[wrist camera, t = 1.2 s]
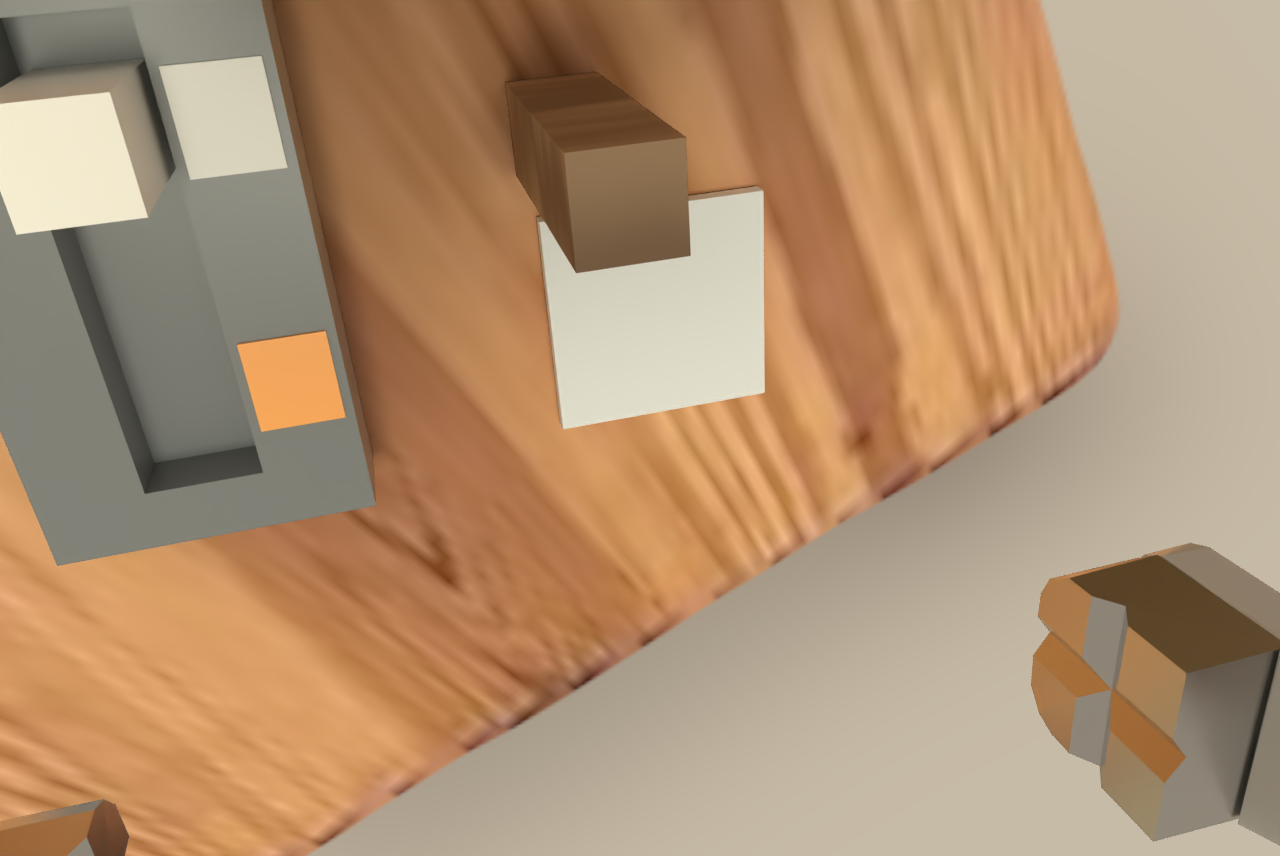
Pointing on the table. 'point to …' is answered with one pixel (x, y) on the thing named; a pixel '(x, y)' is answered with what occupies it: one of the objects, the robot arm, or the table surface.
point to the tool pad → (662, 319)
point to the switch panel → (179, 303)
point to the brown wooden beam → (600, 171)
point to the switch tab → (82, 146)
